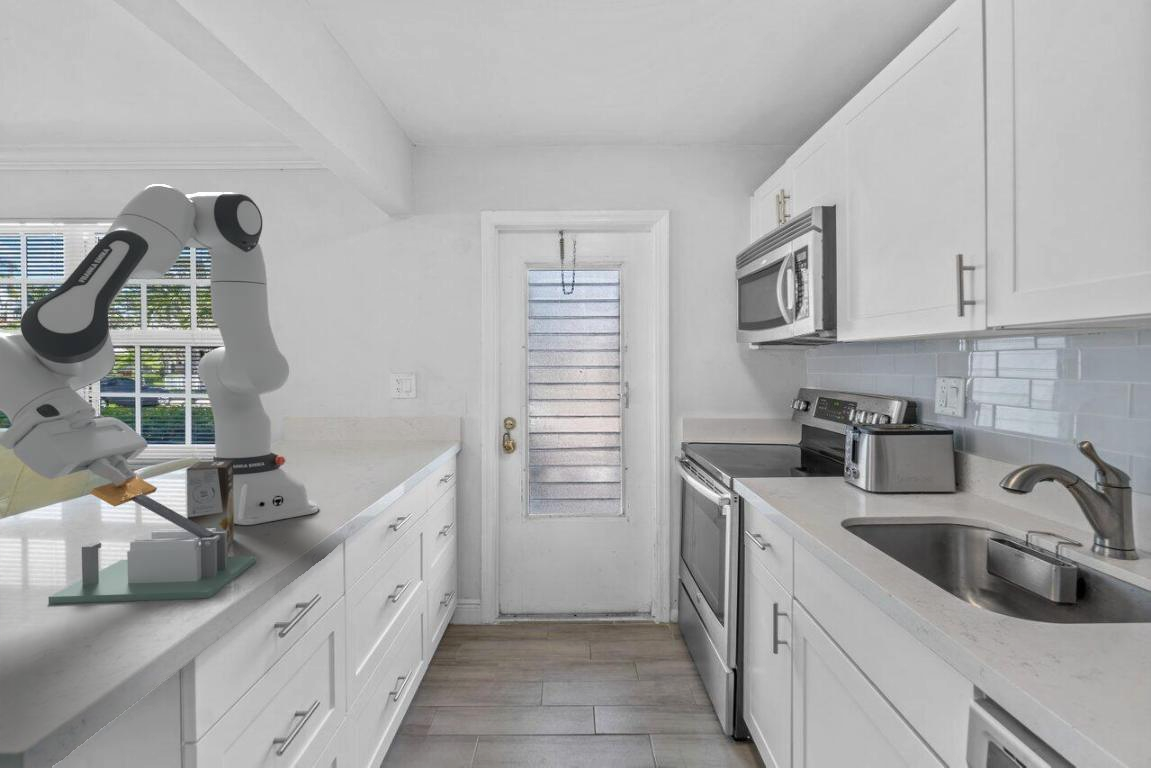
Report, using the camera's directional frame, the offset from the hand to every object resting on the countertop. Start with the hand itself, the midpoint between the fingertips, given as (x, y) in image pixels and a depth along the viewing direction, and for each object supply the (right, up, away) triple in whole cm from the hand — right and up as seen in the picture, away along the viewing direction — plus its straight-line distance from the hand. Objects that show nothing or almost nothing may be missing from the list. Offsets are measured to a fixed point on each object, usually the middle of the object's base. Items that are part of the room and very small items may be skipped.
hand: (127, 481), depth 93 cm
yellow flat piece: (+5, -5, +1) cm, 7 cm away
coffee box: (+2, -16, +18) cm, 24 cm away
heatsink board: (+5, -16, +1) cm, 17 cm away
